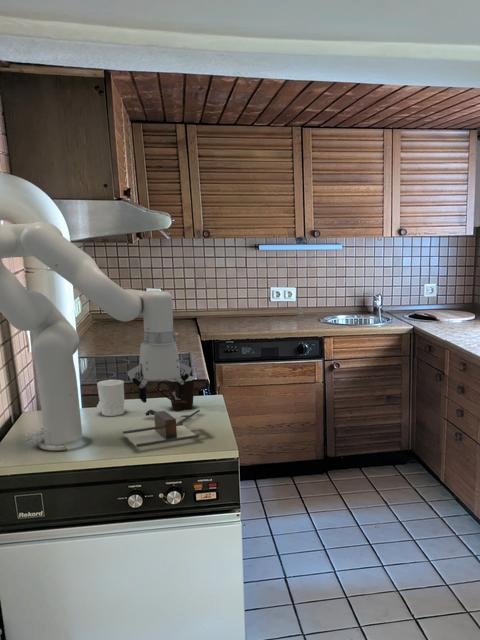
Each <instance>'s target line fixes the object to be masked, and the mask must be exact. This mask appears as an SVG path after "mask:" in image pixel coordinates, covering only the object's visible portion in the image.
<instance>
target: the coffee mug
mask: <svg viewBox="0 0 480 640" xmlns="http://www.w3.org/2000/svg"><path fill="white" fill-rule="evenodd" d="M181 376H182V375H180V376H179V377H181ZM195 378H196V377H194V376H191V375H189V377H188V379H187V380H186V381H185V382H184V384H183V395H181V399H178V398H177V397H176V396H175V384H176V380H175V379H166V381H165V380H162V381H159V382H158V383H157V385H156V388H157V391H158V392H159V393H160V395H162V396H164V397H165V398H167V399H168V400H169V401H170V404H171V408H172V409H171V410H172V411H174V412H184V411H191V410H193V409H194V393H195ZM162 384H164V385H166V386H167V388H168V394H169V396H168V395H167V394H165V393H164V392H163V391H162V390H161V389H160V385H162Z"/></svg>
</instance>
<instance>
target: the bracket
mask: <svg viewBox="0 0 480 640" xmlns="http://www.w3.org/2000/svg"><path fill="white" fill-rule="evenodd" d="M200 411H201V410H200V409H197V410H196V411H194V412H192V413H191V414H185V415H184V414H183V415H180V417H179V418H183V419H181V420H179V421H178V422H177V423H183V424H184V422H186V421H187V420H189V419H191V418H192V417H194V416H195V415H196V414H198V413H200ZM154 412H157V411H156V410H153V409H149V410H146V413H145V416H146V417H148V416H150V415H151V416H154Z"/></svg>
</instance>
